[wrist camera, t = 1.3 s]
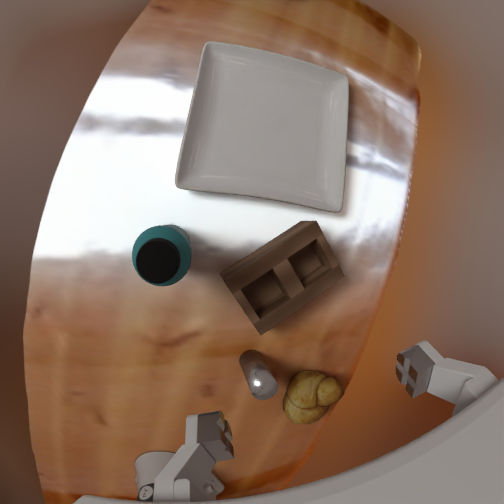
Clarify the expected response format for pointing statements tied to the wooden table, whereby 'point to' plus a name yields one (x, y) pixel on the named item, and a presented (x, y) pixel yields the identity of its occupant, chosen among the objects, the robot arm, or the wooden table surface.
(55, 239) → the wooden table surface
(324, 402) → the bread roll
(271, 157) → the square plate
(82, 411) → the wooden table surface
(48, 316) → the wooden table surface
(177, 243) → the beverage bottle
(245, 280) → the socket block
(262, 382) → the steel pin
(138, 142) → the wooden table surface
